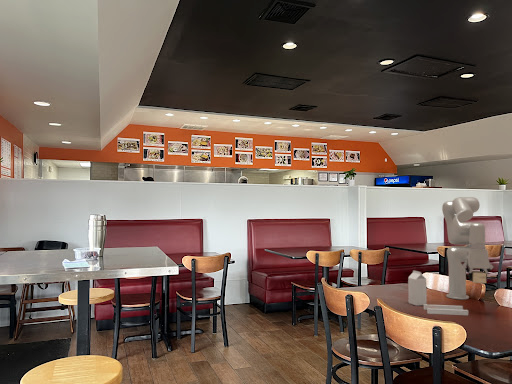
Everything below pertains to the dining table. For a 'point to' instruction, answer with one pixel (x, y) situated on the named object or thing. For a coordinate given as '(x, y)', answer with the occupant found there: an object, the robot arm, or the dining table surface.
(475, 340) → the dining table surface
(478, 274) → the maple block
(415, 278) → the milk carton
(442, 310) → the channel
